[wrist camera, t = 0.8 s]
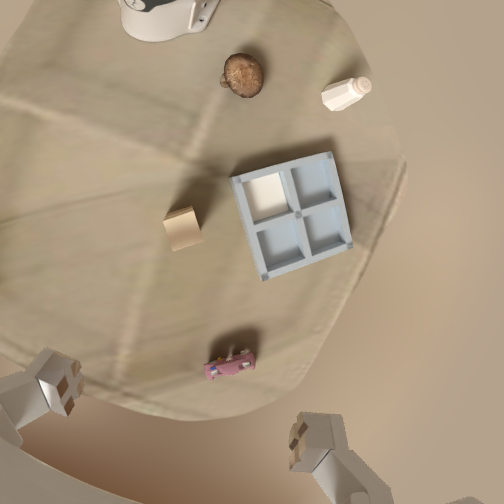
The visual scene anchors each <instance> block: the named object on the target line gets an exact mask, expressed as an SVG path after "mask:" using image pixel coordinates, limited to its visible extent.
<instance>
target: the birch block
mask: <svg viewBox="0 0 504 504" xmlns="http://www.w3.org/2000/svg"><path fill="white" fill-rule="evenodd" d="M163 223H164V226H165V229H166V232H167V235H168V238H169V240H170V243H171V246H172V249H173V251H176V250H179V249H182V248H185V247H188V246H191V245H194V244H197V243H199V242H202V241H203V238H202V235H201V232H200V229H199V226H198V223H197V220H196V217H195V213H194V210H193V207H192V206H189V207H186V208H183V209H180V210H177V211H174V212H171V213H168V214H166V216H165V218H164V220H163Z"/></svg>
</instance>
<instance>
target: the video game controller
mask: <svg viewBox="0 0 504 504" xmlns="http://www.w3.org/2000/svg"><path fill="white" fill-rule="evenodd" d="M240 353H241V354H238V355H234V356H231V357H230V358H231V360H229V361H226V359H225V358H221V357H219V358H217V360H215V361H212V362H209V363H206V364H204V371H205V374H206V375H207V377H208V378H209V380H213V379H214V377H217V376H222V375H234V374H236V373H238V372H239V371H242V370H245V369H248V368H250V369H255V358H254V355H253V353H252V352H250V353H246V351H244V350H243V351H241V352H240Z"/></svg>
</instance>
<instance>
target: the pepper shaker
mask: <svg viewBox="0 0 504 504" xmlns="http://www.w3.org/2000/svg"><path fill="white" fill-rule="evenodd" d="M371 89H372V83H371V81H370V80H369V79H368V78H367V77H364V76H361V77H359V78H349V79H346V80H343V81H340V82H336V83H333V84H330V85H327V86H326V87H325V89H324V90H323V91H322V92H321V94H322V100H323V104H324V105H326V106H327V107H328V108H329V109H330V110H331V111H341V110H343V109H345V108H346V107H348V106H349V105H351V104H353V103H354V102H356V101H358V100H359V99H361V98H362V97H363V96H364V94H365V93H367V92H370V91H371Z"/></svg>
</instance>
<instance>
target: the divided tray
mask: <svg viewBox="0 0 504 504" xmlns="http://www.w3.org/2000/svg"><path fill="white" fill-rule="evenodd" d="M229 181H230V184H231V187H232V191H233V194H234V197H235V201H236V204H237V207H238V211H239V214H240V218H241V221H242V224H243V228H244V231H245V234H246V238H247V241H248V244H249V248H250V251H251V254H252V258H253V261H254V264H255V268H256V271H257V274H258V276H259V277H260V279H261V280H262V281H265V280H267V279H270V278H273V277H276V276H279V275H281V274H284V273H287V272H289V271H292V270H295V269H298V268H300V267H303V266H306V265H308V264H311V263H314V262H316V261H319V260H322V259H324V258H327V257H330V256H332V255H335V254H338V253H340V252H343V251H345V250H348V249H351V248H353V244H352V238H351V233H350V228H349V223H348V218H347V213H346V208H345V204H344V199H343V195H342V190H341V186H340V182H339V177H338V173H337V169H336V165H335V161H334V157H333V153H332V151H328V152H322V153H318V154H314V155H310V156H306V157H302V158H298V159H294V160H290V161H286V162H283V163H279V164H275V165H272V166H268V167H264V168H261V169H257V170H254V171H250V172H247V173H243V174H240V175H237V176H233V177H230V178H229Z"/></svg>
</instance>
